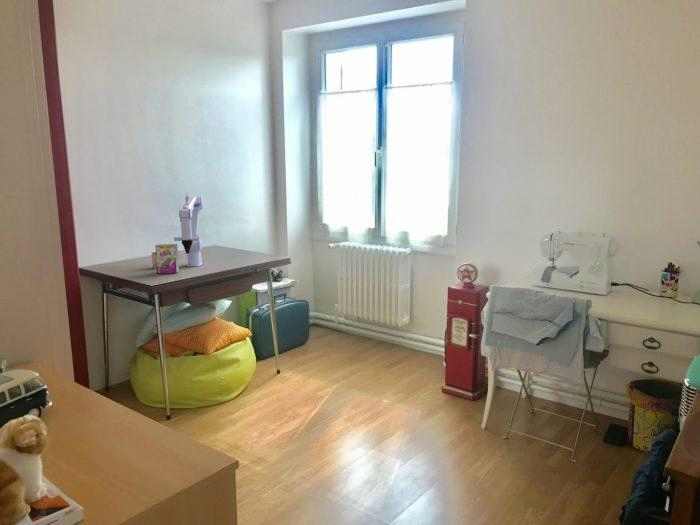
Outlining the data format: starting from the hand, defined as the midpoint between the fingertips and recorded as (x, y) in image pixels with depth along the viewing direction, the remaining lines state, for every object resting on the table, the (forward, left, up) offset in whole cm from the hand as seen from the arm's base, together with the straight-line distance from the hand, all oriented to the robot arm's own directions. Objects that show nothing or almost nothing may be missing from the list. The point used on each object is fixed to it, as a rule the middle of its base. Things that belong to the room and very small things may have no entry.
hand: (187, 253), depth 322 cm
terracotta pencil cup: (-7, -21, -10) cm, 24 cm away
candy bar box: (+7, -10, -10) cm, 16 cm away
